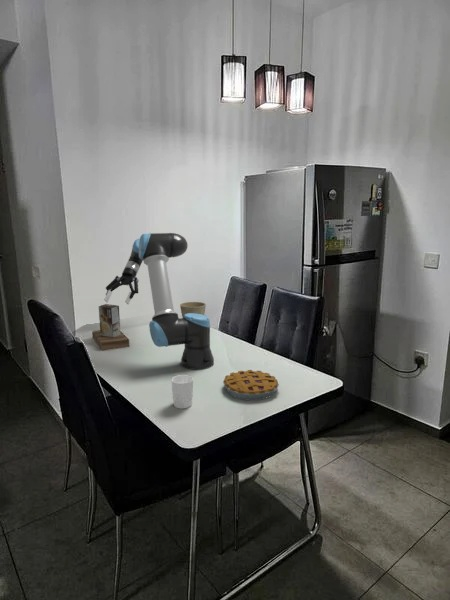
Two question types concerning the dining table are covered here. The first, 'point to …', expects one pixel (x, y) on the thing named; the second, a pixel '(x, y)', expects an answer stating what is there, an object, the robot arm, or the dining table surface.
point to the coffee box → (109, 320)
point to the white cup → (182, 391)
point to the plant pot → (192, 308)
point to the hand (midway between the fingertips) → (116, 302)
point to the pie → (250, 384)
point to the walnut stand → (110, 341)
